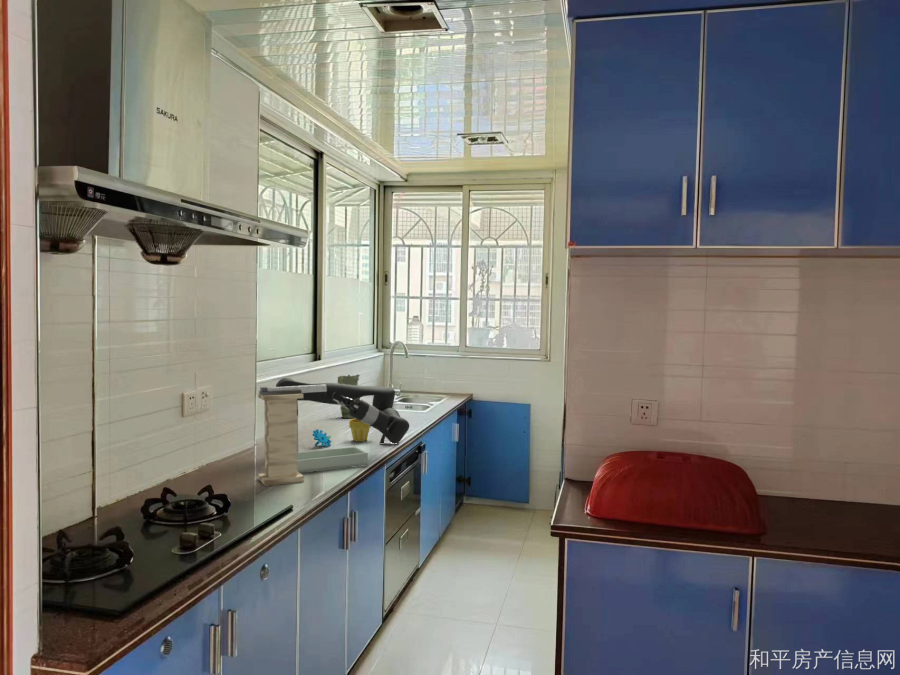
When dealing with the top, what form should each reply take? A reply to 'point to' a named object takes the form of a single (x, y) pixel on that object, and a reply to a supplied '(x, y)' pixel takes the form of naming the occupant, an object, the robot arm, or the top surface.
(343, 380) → the pouch
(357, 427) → the plant pot
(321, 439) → the gear
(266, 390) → the grey metal block
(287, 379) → the robot arm
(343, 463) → the tray
